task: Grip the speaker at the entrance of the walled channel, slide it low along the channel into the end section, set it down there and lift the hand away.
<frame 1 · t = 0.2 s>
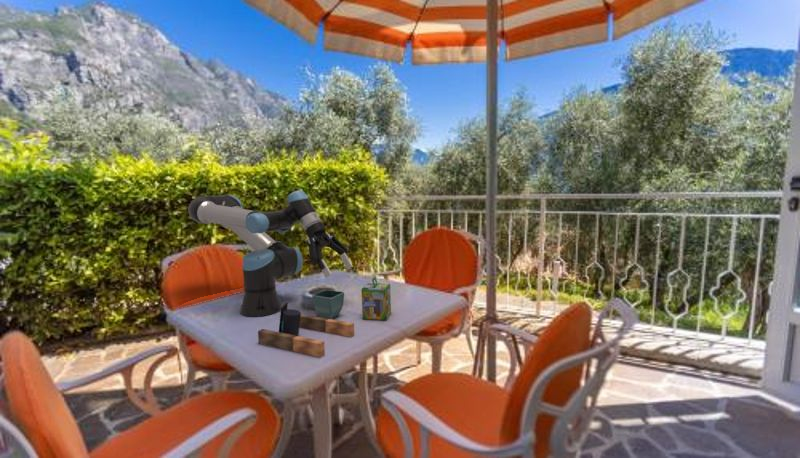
hand: (340, 272, 151), 15 cm above the table, tool tilted 35°, fingers open, 13 cm apart
channel: (307, 339, 126), on the table
chalk box: (377, 316, 146), on the table
speaker: (290, 336, 129), on the table
flower pot: (329, 317, 146), on the table
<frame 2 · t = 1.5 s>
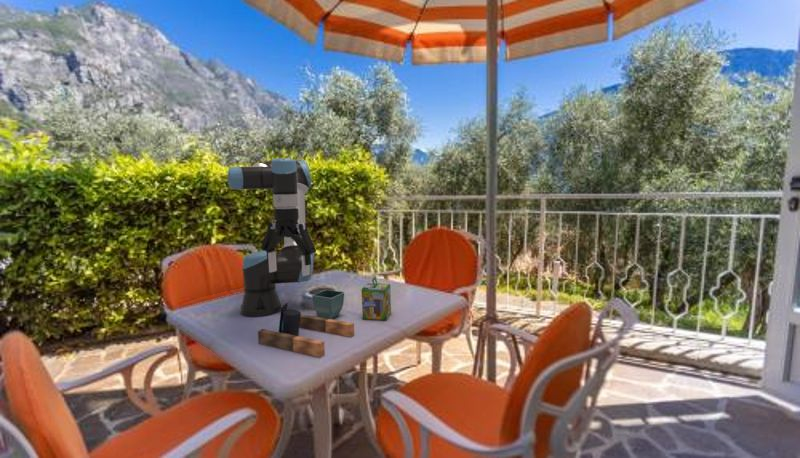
hand: (289, 273, 127), 21 cm above the table, tool pointing down, fingers open, 13 cm apart
nothing on the table moved.
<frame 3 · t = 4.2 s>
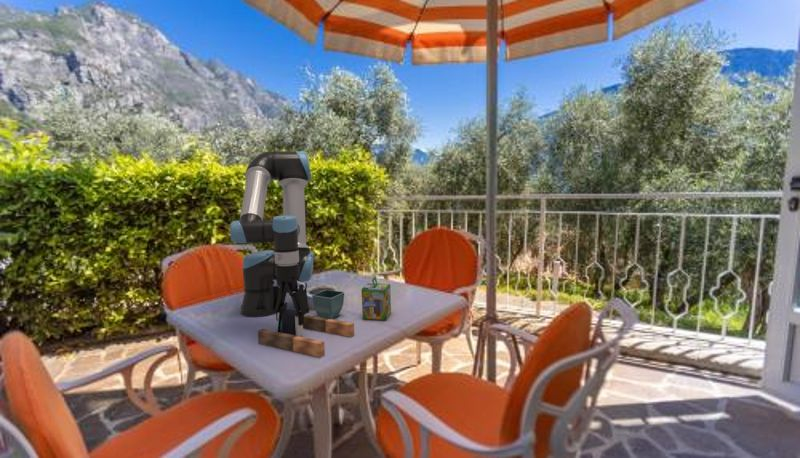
hand: (290, 332, 128), 1 cm above the table, tool pointing down, fingers closed on speaker, 7 cm apart
speaker: (289, 335, 129), on the table, touching gripper
everything else where it was.
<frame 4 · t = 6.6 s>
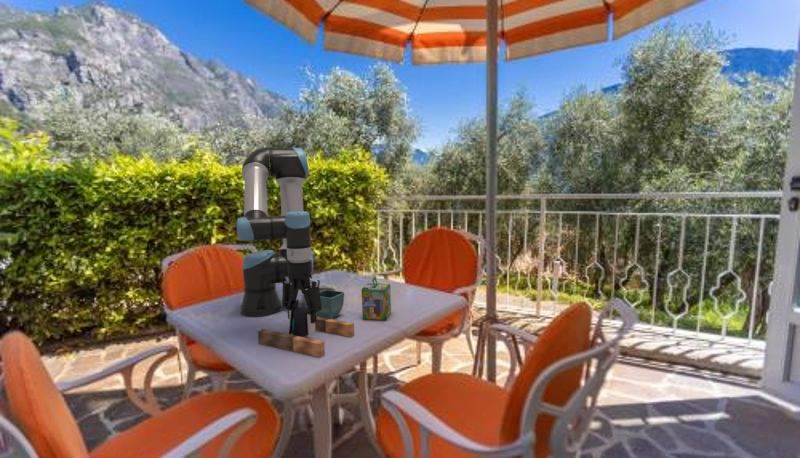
hand: (302, 330, 126), 3 cm above the table, tool pointing down, fingers closed on speaker, 7 cm apart
speaker: (301, 334, 126), point 1 cm above the table, touching gripper
everything else where it was.
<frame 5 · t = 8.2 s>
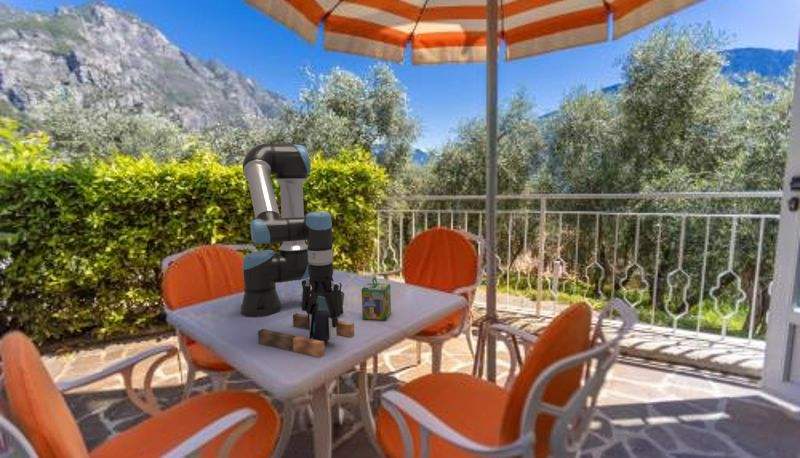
hand: (323, 334, 123), 3 cm above the table, tool pointing down, fingers closed on speaker, 7 cm apart
speaker: (322, 338, 123), point 1 cm above the table, touching gripper
everything else where it was.
when the fingers open (1 cm above the table, at t = 9.3 s): speaker stays where it is, on the table.
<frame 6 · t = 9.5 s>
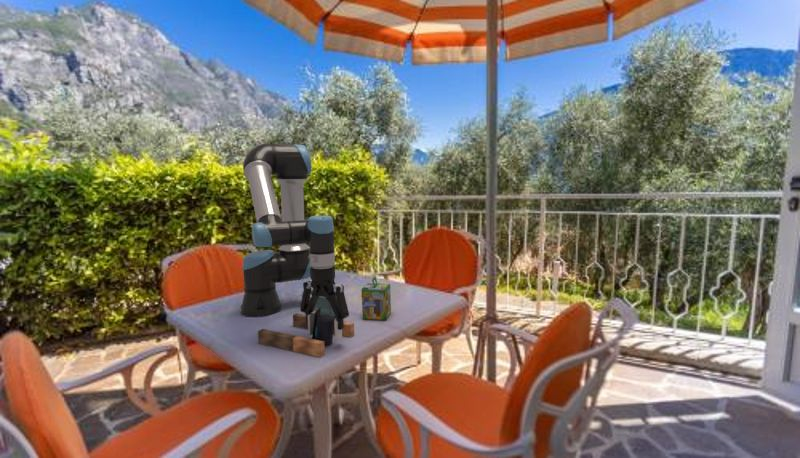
hand: (325, 336, 122), 2 cm above the table, tool pointing down, fingers open, 9 cm apart
speaker: (324, 342, 123), on the table
everything else where it was.
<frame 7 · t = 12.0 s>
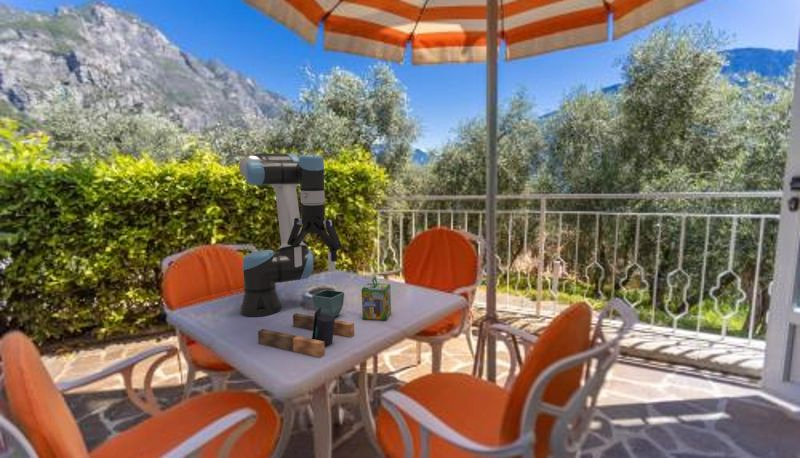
hand: (314, 268, 128), 22 cm above the table, tool pointing down, fingers open, 13 cm apart
nothing on the table moved.
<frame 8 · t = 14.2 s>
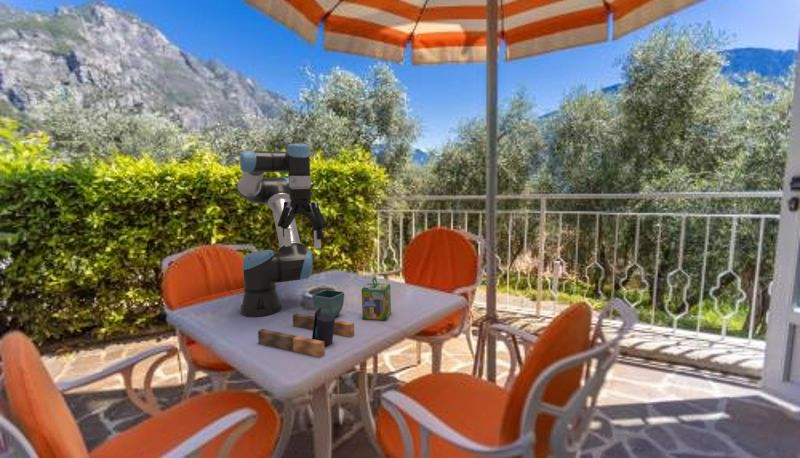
hand: (302, 247, 141), 27 cm above the table, tool pointing down, fingers open, 13 cm apart
nothing on the table moved.
at the end: speaker inside the target area (0.6 cm from its centre), on the table; speaker tilted 1°; the gripper is holding nothing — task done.
